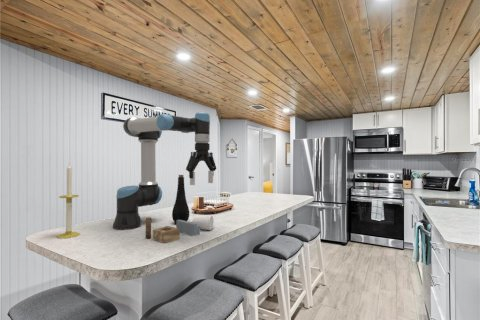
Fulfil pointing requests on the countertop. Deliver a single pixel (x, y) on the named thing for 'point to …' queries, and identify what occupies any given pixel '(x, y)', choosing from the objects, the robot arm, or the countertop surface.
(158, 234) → the block
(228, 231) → the countertop surface
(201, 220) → the mug
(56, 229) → the countertop surface
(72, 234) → the candle
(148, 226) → the dowel
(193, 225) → the backstop wall
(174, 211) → the bottle
